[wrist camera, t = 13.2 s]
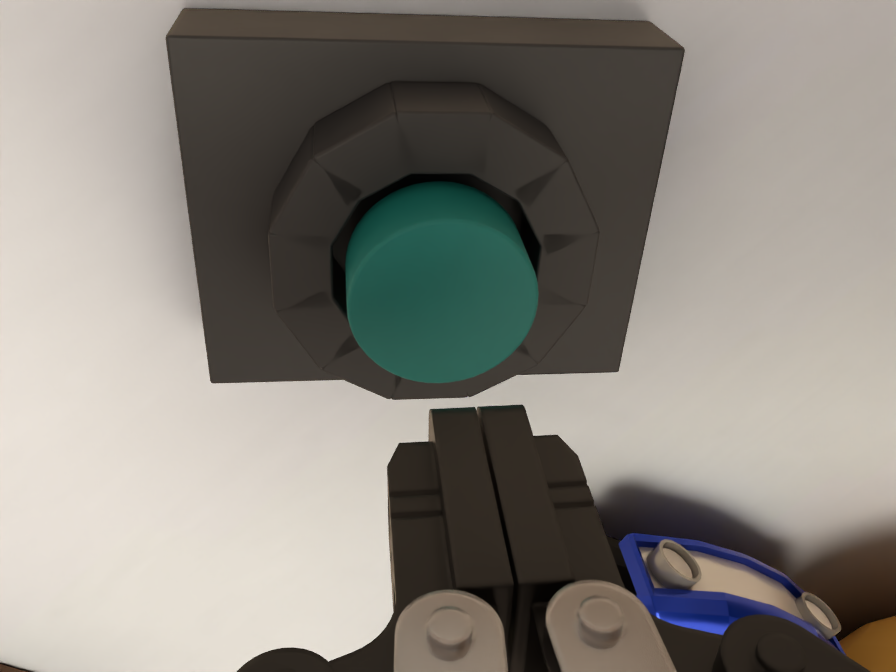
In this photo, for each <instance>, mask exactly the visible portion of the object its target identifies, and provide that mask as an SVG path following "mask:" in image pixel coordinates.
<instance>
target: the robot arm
mask: <svg viewBox="0 0 896 672" xmlns="http://www.w3.org/2000/svg"><path fill="white" fill-rule="evenodd" d="M387 477H388V524H389V547H390V562H391V579H392V595H393V611H394V613H393V615H392V618H391V620H390V622H389V623H388V625H387V626H386V628H385V629H384V630H383V631H382V633H381V634H380V635H379V636H378V637H377V638H375V639H374V640H373V641H372V642H371V643H369V644H367V645H366V646H364V647H363V648H361V649H358V650H356V651H354V652H352V653H349V654H347V655H344V656H342V657H339V658H336V659H334V660H331V661H329V662H328V661H327V660H326V659H324V658H323V657H321V656H320V655H318V654H316V653H314V652H312V651H309V650H305V649H300V648H280V649H275V650H271V651H268V652H265V653H262V654H260V655H258V656H256V657H254V658H253V659H251V660H250V661H248V662H247V663H246V664H244V665H243V666H242V667H241V668H240V669H239V670H238V671H237V672H871V671H869V670H868V669H866V668H865V667H863V666H862V665H860V664H858V663H857V662H855V661H854V660H852V659H851V658H849V657H848V656H846V655H845V654H843V653H841V652H840V651H838V650H837V649H835V648H834V647H832V646H831V645H829V644H828V643H826V642H824V641H823V640H821V639H820V638H818V637H817V636H815V635H814V634H812V633H811V632H809V631H808V630H806V629H804V628H803V627H801V626H799V625H797V624H796V623H793V622H791V621H789V620H786V619H783V618H780V617H777V616H771V615H759V614H757V615H749V616H745V617H742V618H740V619H738V620H736V621H734V622H733V623H732V624H731V625H729V626H728V628H727V629H726V630H725V632H724V634H723V635H719V634H715V633H710V632H705V631H701V630H696V629H691V628H686V627H682V626H678V625H675V624H671V623H669V622H666V621H664V620H661V619H660V618H658V617H656V616H654V615H652V614H651V613H649V611H648V610H647V608H646V607H645V605H644V604H643V603H642V602H641V601H640V600H639V599H638V598H637V597H636V596H635V595H634V594H632V593H631V592H629V591H628V590H627V589H626V588H625V586H624V584H623V582H622V580H621V577H620V574H619V571H618V568H617V565H616V563H615V560H614V557H613V554H612V551H611V548H610V546H609V543H608V540H607V537H606V534H605V531H604V529H603V526H602V523H601V520H600V517H599V514H598V511H597V509H596V506H594V500H593V497H592V494H591V492H590V489H589V486H587V480H586V477H585V475H584V472H583V469H582V466H581V463H580V460H579V458H578V456H577V454H576V453H575V452H574V451H573V450H572V449H571V448H570V447H569V446H568V445H567V444H566V443H565V442H564V441H563V440H562V439H561V438H560V437H559V436H558V435H544V436H533V434H532V430H531V427H530V423H529V420H528V417H527V413H526V410H525V408H524V406H523V405H506V406H485V407H477V411H476V409H475V407H468V408H446V409H430V411H429V441H428V442H411V443H399V444H398V446H397V448H396V450H395V452H394V454H393V456H392V458H391V460H390V462H389V464H388V466H387Z"/></svg>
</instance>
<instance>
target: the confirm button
mask: <svg viewBox="0 0 896 672" xmlns="http://www.w3.org/2000/svg"><path fill="white" fill-rule="evenodd" d="M345 271H346V301H347V315H348V321H349V325H350V328H351V331H352V333H353V335H354V338H355V339H356V341H357V343H358V344H359V346H360V347H361V349H362V350H363V351H364V352H365V353H366V355H367V356H368V357H369V358H371V359H372V360H373V361H374V362H375V363H376V364H378V365H379V366H380V367H382V368H383V369H385V370H387V371H389V372H391V373H392V374H394V375H397V376H400V377H402V378H405V379H409V380H413V381H417V382H424V383H449V382H455V381H461V380H465V379H468V378H472V377H475V376H477V375H480V374H482V373H484V372H486V371H488V370H490V369H492V368H494V367H495V366H497V365H498V364H500V363H501V362H502V361H504V360H505V359H506V358H507V357H509V356H510V355H511V354H512V353H513V352H514V351H515V350H516V349H517V348H518V346H519V345H520V344H521V343H522V341H523V340H524V338H525V337H526V336H527V334H528V332H529V330H530V328H531V326H532V323H533V321H534V318H535V315H536V311H537V306H538V295H539V292H538V282H537V278H536V274H535V271H534V269H533V266H532V264H531V261H530V259H529V256H528V254H527V252H526V249H525V247H524V244H523V242H522V240H521V237H520V235H519V232H518V230H517V228H516V225H515V223H514V222H513V220H512V218H511V217H510V215H509V214H508V213H507V211H506V210H505V209H504V208H503V207H502V206H501V205H500V204H499V203H498V202H497V201H496V200H494V199H493V198H492V197H490V196H489V195H487V194H486V193H484V192H482V191H480V190H478V189H476V188H473V187H470V186H467V185H464V184H459V183H454V182H444V181H433V182H423V183H418V184H413V185H410V186H407V187H404V188H401V189H399V190H397V191H395V192H392V193H391V194H389V195H387V196H386V197H384V198H382V199H381V200H380V201H378V202H377V203H376V204H375V205H373V206H372V207H371V208H370V209H369V210H368V211H367V212H366V213H365V214H364V216H363V217H362V218H361V220H360V221H359V222H358V224H357V225H356V227H355V229H354V231H353V233H352V235H351V238H350V241H349V243H348V247H347V252H346V262H345Z"/></svg>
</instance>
